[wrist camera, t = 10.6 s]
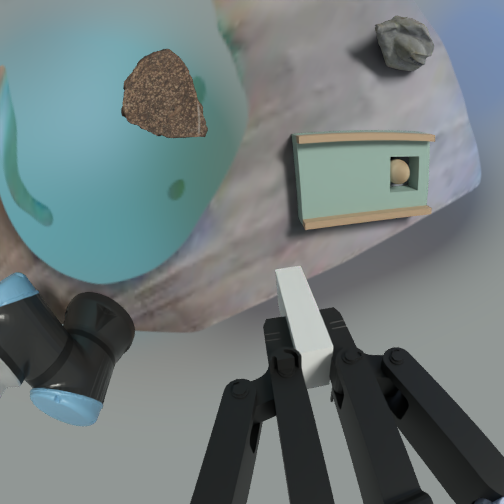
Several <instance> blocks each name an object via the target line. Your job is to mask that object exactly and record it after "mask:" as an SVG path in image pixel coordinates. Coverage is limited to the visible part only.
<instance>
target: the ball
mask: <svg viewBox="0 0 504 504" xmlns="http://www.w3.org/2000/svg"><path fill="white" fill-rule="evenodd" d="M409 175H410V170H409V167H408V165H407V164H406V163H405V162H404V161H403V160H400V159H393V160H391V161H390V181H391V182H392V183H394V184H403V183H405V182H406V181H407V180H408V178H409Z"/></svg>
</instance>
